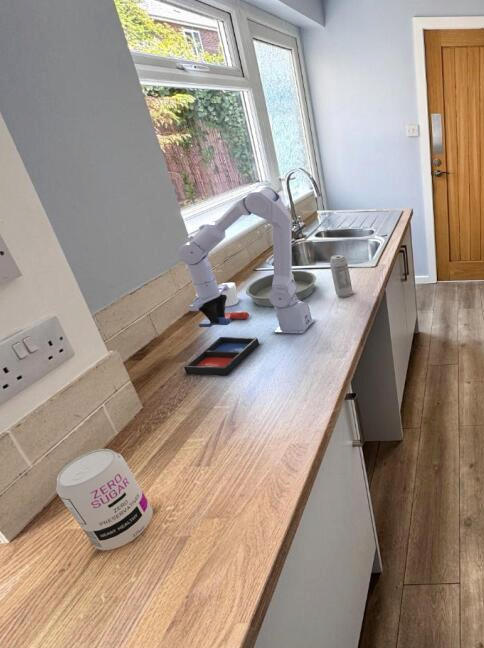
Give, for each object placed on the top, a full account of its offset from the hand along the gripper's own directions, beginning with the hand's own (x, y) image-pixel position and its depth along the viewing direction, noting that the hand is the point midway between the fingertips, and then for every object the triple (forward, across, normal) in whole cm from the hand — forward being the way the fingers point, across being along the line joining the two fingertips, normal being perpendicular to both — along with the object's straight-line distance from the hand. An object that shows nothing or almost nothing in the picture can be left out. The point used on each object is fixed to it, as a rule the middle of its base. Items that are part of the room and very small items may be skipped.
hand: (218, 320), depth 125 cm
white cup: (+6, -22, -13) cm, 26 cm away
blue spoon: (+1, 0, -1) cm, 2 cm away
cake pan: (+6, -30, +4) cm, 31 cm away
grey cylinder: (+6, -30, +28) cm, 41 cm away
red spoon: (+6, -11, -3) cm, 13 cm away
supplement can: (+6, +61, +25) cm, 66 cm away
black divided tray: (+6, +12, +9) cm, 16 cm away
